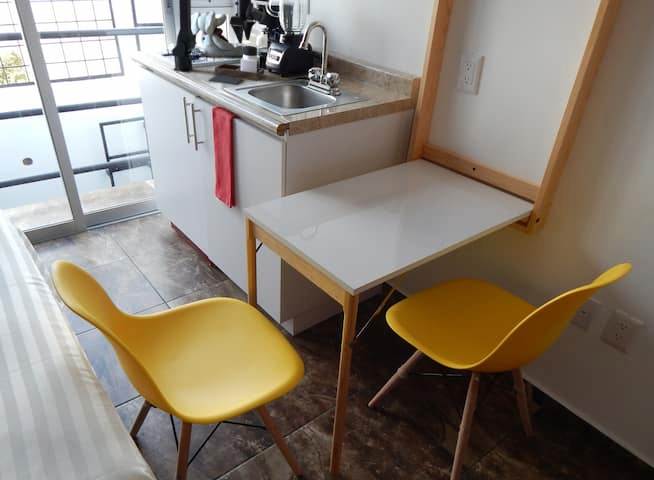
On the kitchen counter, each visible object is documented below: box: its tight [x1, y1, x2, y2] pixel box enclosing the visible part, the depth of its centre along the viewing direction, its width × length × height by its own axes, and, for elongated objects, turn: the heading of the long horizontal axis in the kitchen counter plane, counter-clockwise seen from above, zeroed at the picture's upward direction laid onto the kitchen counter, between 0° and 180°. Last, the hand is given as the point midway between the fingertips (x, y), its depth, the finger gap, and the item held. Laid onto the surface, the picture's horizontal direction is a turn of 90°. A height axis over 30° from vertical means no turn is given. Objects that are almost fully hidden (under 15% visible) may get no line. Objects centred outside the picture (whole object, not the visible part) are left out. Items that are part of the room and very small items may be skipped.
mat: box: [208, 75, 244, 85], centre depth 205 cm, size 12×9×1 cm
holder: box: [214, 63, 265, 81], centre depth 213 cm, size 19×10×3 cm, turn 78°
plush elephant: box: [191, 10, 245, 58], centre depth 239 cm, size 27×22×21 cm
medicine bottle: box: [240, 45, 260, 73], centre depth 210 cm, size 7×7×12 cm
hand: (244, 41), depth 202 cm, fingers open, 9 cm apart
